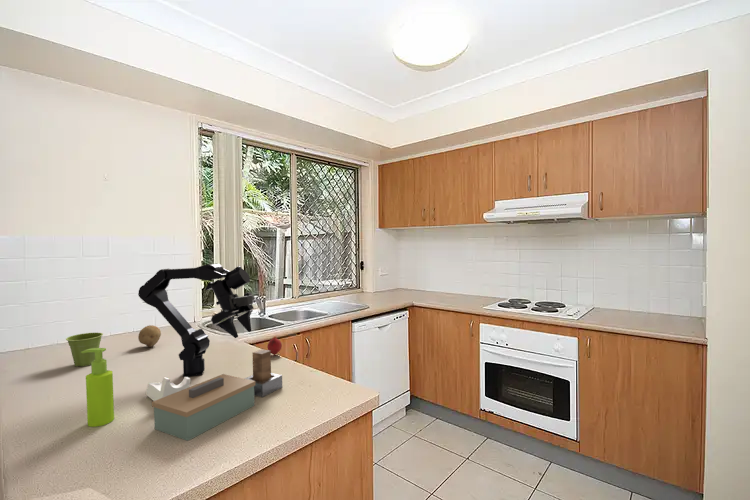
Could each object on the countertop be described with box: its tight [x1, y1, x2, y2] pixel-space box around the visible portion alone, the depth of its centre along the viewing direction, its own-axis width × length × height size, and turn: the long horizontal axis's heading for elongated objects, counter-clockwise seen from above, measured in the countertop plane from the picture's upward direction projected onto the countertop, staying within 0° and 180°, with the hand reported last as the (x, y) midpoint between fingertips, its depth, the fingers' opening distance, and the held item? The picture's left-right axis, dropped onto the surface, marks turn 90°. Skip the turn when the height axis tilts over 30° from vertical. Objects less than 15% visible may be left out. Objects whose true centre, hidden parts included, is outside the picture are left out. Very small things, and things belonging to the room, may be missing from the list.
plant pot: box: [65, 332, 104, 367], centre depth 153 cm, size 12×12×11 cm
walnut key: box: [252, 349, 272, 382], centre depth 125 cm, size 4×4×12 cm
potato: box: [137, 324, 162, 348], centre depth 177 cm, size 9×9×10 cm
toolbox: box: [151, 373, 255, 442], centre depth 109 cm, size 14×28×9 cm, turn 152°
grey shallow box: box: [244, 372, 283, 398], centre depth 125 cm, size 9×9×4 cm
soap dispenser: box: [81, 347, 115, 428], centre depth 104 cm, size 6×7×20 cm
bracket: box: [145, 376, 191, 402], centre depth 120 cm, size 13×7×8 cm, turn 47°
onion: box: [266, 335, 282, 356], centre depth 162 cm, size 6×6×8 cm
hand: (243, 334), depth 137 cm, fingers open, 9 cm apart
